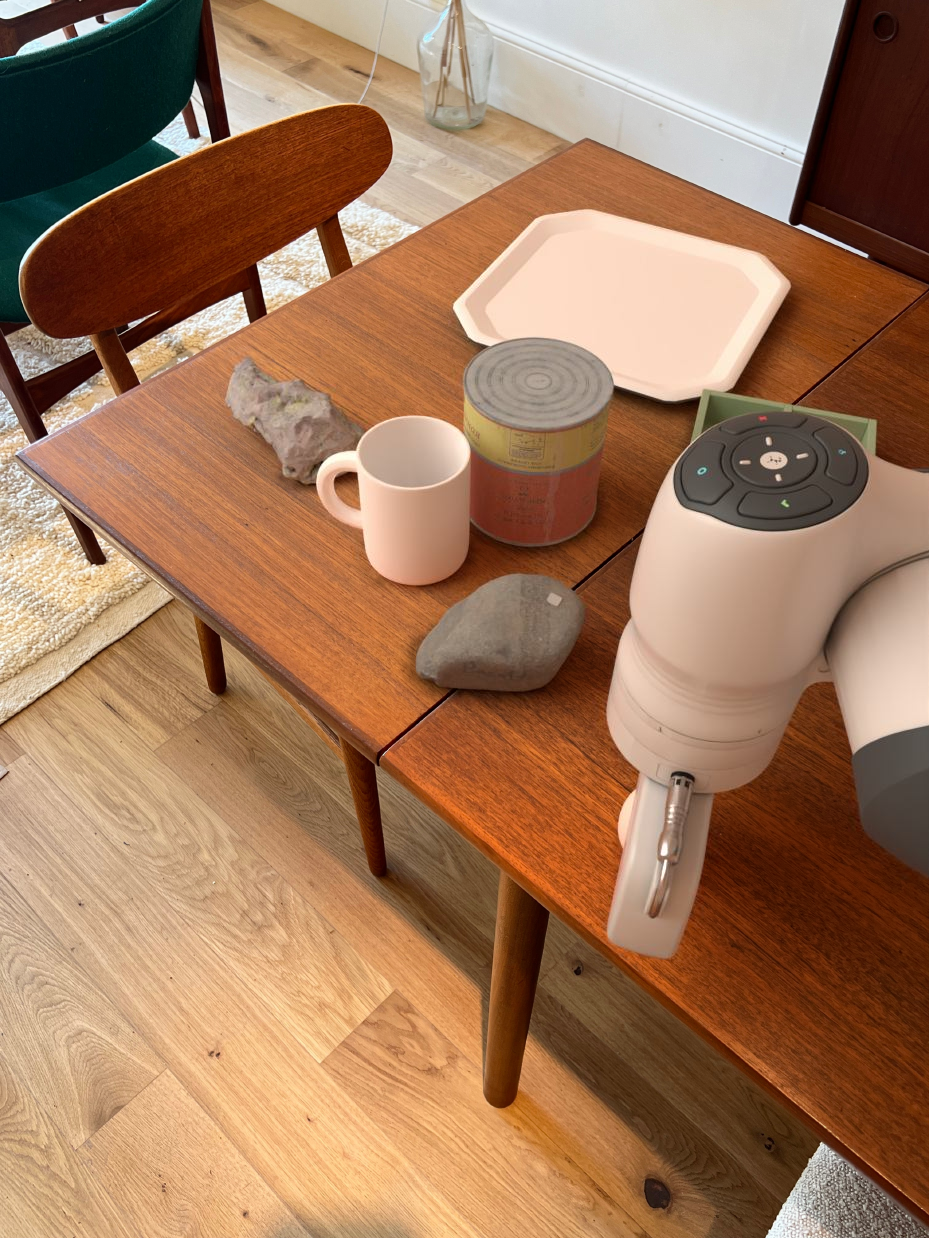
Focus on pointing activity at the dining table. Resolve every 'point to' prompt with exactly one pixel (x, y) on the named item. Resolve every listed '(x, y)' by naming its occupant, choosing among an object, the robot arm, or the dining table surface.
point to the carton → (729, 405)
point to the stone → (504, 635)
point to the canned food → (535, 438)
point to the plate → (630, 301)
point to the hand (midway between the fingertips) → (654, 834)
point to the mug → (407, 497)
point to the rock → (291, 420)
